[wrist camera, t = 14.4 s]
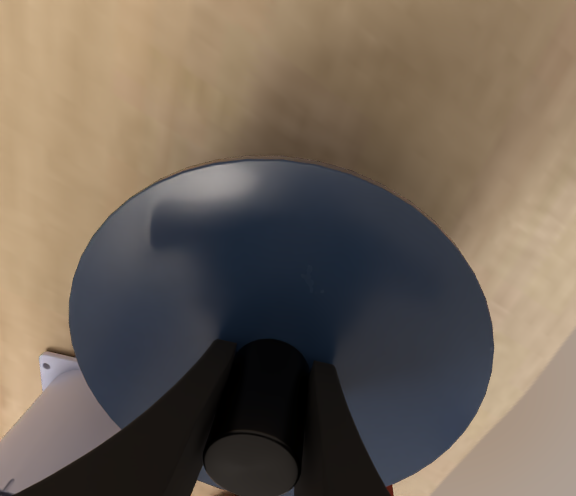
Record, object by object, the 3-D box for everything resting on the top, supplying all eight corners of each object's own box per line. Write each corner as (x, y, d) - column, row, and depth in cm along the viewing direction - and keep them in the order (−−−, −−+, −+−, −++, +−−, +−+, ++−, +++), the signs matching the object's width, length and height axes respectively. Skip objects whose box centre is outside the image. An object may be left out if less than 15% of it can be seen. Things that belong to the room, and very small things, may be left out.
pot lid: (404, 505, 16) (427, 651, 12) (92, 433, 16) (13, 555, 12) (562, 208, 11) (704, 300, 6) (79, 103, 11) (-76, 129, 7)
